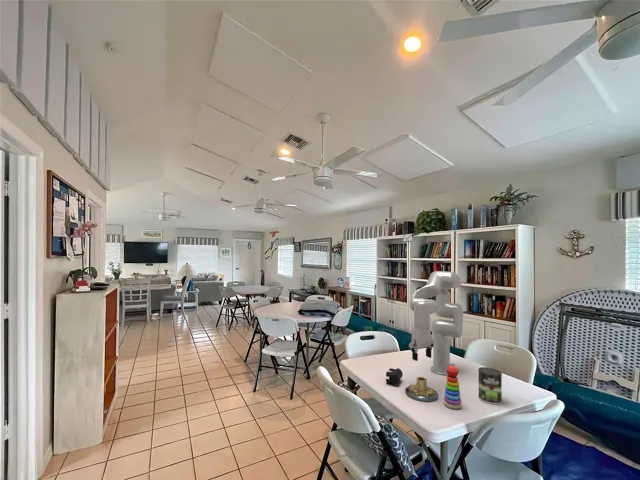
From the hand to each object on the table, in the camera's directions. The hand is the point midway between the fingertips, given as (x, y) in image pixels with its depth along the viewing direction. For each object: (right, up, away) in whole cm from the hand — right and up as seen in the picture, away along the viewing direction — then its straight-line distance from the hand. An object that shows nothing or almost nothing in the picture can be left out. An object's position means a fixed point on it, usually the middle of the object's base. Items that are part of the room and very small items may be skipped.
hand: (421, 358), depth 154 cm
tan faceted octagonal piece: (0, -17, -1) cm, 17 cm away
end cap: (-11, -19, +12) cm, 25 cm away
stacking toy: (+10, -18, -12) cm, 24 cm away
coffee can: (+32, -19, -6) cm, 38 cm away
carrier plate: (-1, -18, -1) cm, 18 cm away
